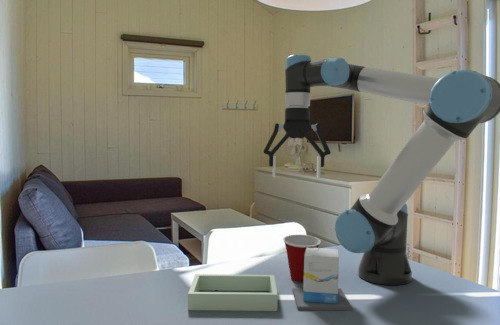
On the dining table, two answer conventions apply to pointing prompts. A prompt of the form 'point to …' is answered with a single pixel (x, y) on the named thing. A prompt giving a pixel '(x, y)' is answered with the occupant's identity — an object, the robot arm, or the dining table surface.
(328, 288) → the ink box
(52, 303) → the dining table surface
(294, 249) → the plastic cup
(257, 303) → the bin
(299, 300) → the pad
